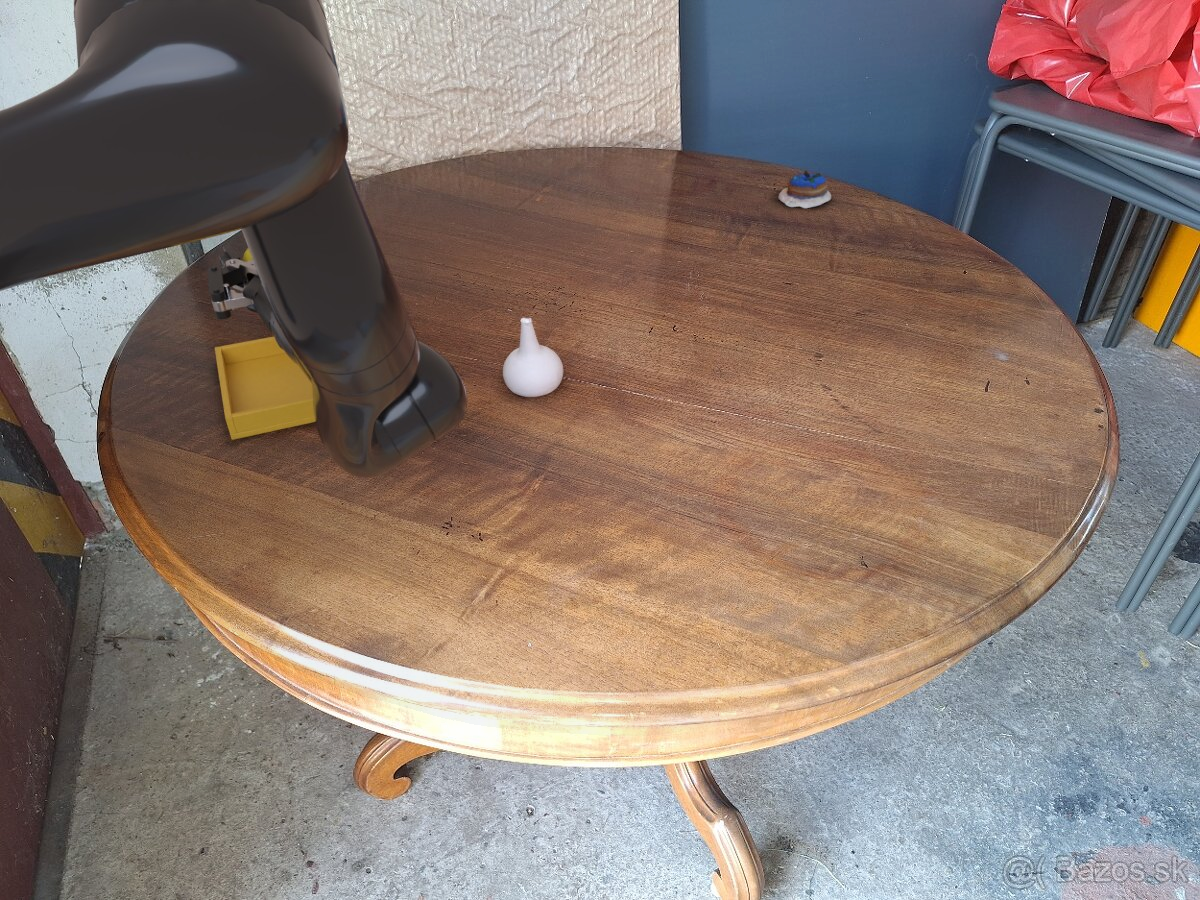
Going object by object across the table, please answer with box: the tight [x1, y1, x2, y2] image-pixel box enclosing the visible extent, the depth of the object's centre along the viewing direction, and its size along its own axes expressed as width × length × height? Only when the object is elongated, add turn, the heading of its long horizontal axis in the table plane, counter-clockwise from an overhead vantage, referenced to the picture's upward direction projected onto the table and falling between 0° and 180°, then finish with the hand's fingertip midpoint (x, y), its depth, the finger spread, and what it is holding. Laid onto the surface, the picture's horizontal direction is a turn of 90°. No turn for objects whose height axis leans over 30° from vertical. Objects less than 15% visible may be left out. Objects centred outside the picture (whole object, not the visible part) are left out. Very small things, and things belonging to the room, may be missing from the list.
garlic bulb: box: [502, 317, 564, 398], centre depth 92 cm, size 6×6×8 cm
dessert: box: [778, 170, 832, 209], centre depth 135 cm, size 8×7×6 cm
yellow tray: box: [214, 336, 316, 441], centre depth 93 cm, size 14×14×3 cm
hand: (260, 248), depth 86 cm, fingers closed on lemon, 5 cm apart
